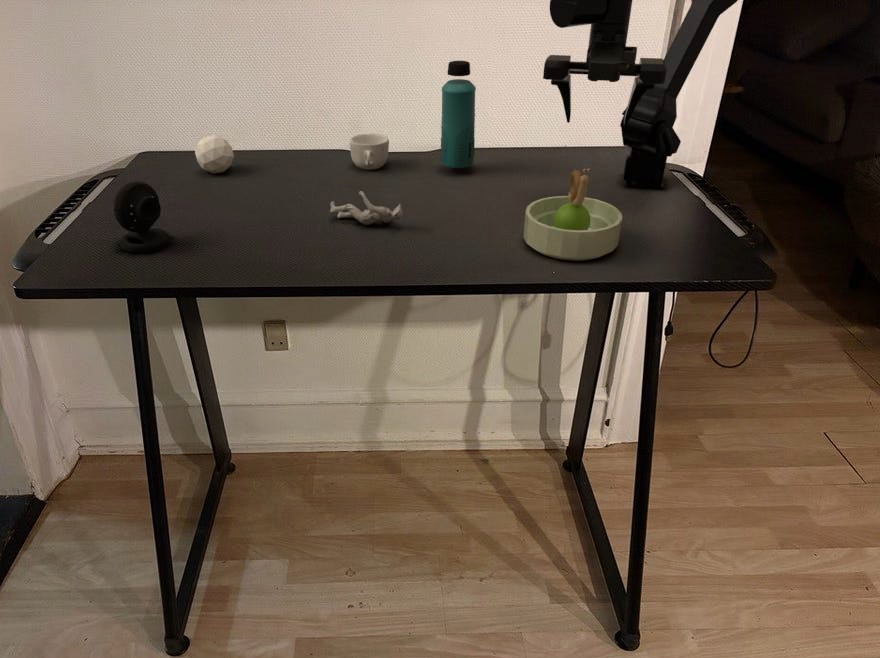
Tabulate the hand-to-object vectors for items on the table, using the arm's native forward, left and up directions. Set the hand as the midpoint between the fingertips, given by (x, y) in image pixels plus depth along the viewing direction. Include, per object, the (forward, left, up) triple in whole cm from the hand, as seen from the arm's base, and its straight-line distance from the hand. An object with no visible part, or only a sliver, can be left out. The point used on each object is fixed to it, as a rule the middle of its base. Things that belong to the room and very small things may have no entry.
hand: (596, 123), depth 121 cm
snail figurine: (+2, +20, -12) cm, 24 cm away
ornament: (+71, 0, -13) cm, 72 cm away
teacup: (+42, -8, -13) cm, 45 cm away
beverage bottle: (+25, -10, -13) cm, 30 cm away
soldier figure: (+35, +19, -13) cm, 42 cm away
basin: (+2, +20, -13) cm, 24 cm away
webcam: (+67, +34, -13) cm, 76 cm away
